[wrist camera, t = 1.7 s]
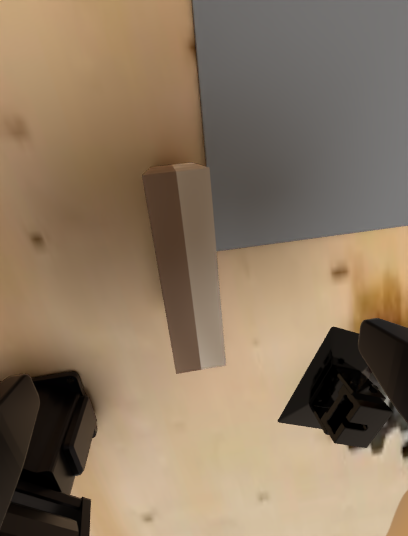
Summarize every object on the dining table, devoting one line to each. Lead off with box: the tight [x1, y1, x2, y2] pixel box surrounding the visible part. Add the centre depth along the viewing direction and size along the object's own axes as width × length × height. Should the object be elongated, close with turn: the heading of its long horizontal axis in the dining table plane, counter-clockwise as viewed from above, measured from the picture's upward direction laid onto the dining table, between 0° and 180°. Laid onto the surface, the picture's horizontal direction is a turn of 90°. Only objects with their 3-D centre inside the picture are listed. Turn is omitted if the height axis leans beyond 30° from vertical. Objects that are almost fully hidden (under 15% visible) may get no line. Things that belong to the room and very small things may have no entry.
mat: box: [192, 0, 408, 251], centre depth 16 cm, size 14×14×1 cm
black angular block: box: [278, 327, 393, 448], centre depth 23 cm, size 13×8×5 cm, turn 160°
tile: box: [142, 162, 226, 374], centre depth 15 cm, size 2×9×7 cm, turn 5°
